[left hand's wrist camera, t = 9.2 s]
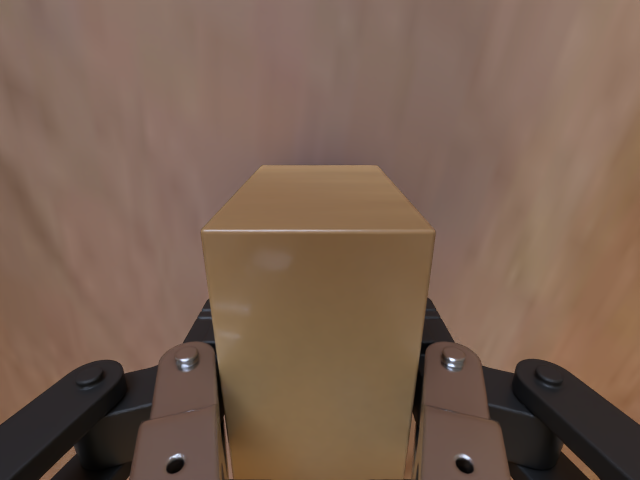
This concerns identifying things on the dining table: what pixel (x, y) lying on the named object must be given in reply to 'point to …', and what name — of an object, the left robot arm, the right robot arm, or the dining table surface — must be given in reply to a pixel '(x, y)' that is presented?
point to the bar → (318, 321)
